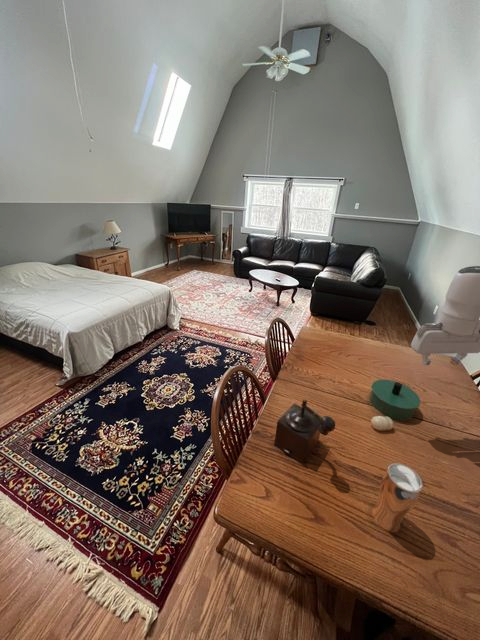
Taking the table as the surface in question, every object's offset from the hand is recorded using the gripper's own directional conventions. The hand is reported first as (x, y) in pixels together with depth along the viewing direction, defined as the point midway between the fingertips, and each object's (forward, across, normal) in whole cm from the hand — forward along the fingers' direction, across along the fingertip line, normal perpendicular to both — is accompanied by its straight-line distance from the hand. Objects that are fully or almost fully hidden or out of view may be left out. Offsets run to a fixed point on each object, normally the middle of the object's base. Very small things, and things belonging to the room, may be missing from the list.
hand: (439, 363), depth 82 cm
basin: (+24, -5, +8) cm, 25 cm away
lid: (+18, -5, +8) cm, 20 cm away
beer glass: (+23, -28, -29) cm, 47 cm away
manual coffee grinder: (+23, -42, -10) cm, 49 cm away
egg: (+23, -14, -1) cm, 27 cm away
